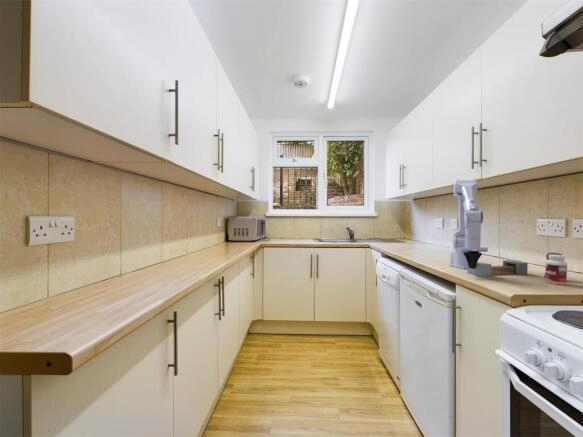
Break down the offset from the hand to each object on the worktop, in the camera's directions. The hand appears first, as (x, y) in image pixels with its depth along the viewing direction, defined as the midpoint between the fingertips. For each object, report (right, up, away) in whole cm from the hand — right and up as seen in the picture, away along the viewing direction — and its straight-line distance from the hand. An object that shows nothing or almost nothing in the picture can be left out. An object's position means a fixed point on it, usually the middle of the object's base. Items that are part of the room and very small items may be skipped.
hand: (471, 268), depth 124 cm
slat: (+14, -3, +3) cm, 15 cm away
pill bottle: (+25, -4, -13) cm, 28 cm away
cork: (+31, -4, -5) cm, 32 cm away
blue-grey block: (+4, -3, +1) cm, 5 cm away
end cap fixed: (+23, -3, +6) cm, 24 cm away
